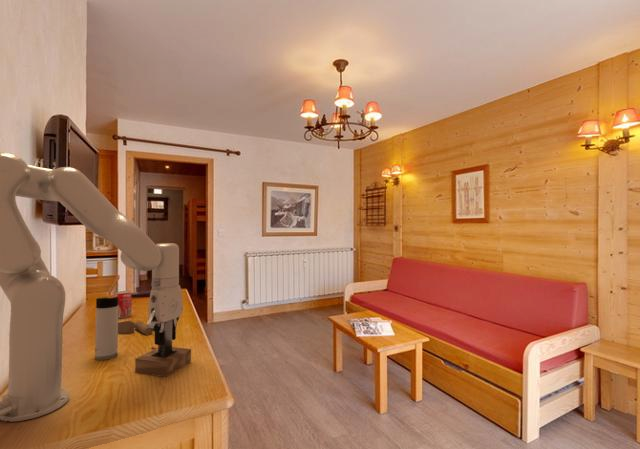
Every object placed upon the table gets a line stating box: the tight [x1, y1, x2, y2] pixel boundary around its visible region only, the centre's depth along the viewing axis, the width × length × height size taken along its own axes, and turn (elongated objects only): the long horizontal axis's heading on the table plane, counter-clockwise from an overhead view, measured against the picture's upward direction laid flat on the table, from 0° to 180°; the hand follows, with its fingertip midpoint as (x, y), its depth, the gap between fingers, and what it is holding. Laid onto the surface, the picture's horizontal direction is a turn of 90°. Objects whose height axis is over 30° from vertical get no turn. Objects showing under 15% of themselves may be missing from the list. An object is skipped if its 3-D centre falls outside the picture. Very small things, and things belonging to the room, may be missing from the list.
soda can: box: [114, 290, 133, 320], centre depth 153 cm, size 7×7×12 cm
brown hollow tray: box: [134, 346, 192, 378], centre depth 99 cm, size 11×11×4 cm
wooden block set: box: [118, 317, 154, 336], centre depth 130 cm, size 17×6×18 cm
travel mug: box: [94, 296, 119, 361], centre depth 106 cm, size 6×7×20 cm
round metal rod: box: [157, 320, 173, 356], centre depth 99 cm, size 4×4×14 cm
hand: (165, 341), depth 99 cm, fingers closed on round metal rod, 4 cm apart
